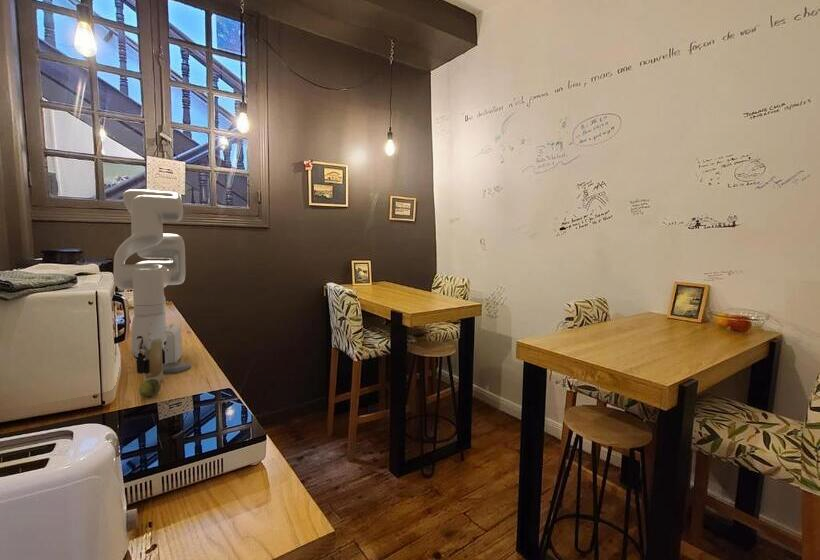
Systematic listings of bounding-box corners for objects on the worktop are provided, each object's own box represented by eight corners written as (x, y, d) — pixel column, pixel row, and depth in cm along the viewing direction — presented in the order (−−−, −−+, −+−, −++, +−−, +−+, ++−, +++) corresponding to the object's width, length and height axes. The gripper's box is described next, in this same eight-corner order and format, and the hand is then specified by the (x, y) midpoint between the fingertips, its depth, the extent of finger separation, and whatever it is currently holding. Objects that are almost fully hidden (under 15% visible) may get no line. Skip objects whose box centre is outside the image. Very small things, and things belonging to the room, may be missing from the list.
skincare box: (143, 377, 121) (142, 337, 119) (160, 374, 123) (159, 335, 122) (145, 383, 116) (144, 342, 114) (163, 381, 118) (162, 340, 117)
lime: (137, 401, 104) (136, 382, 104) (146, 393, 109) (145, 376, 108) (155, 400, 105) (155, 382, 104) (164, 393, 110) (163, 375, 109)
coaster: (167, 364, 133) (167, 361, 133) (195, 364, 133) (195, 362, 133) (152, 373, 124) (151, 371, 124) (182, 374, 124) (182, 371, 124)
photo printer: (176, 365, 132) (174, 328, 131) (161, 365, 131) (159, 328, 129) (183, 355, 142) (182, 321, 140) (169, 356, 141) (168, 321, 139)
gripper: (153, 304, 125) (155, 358, 127) (116, 315, 108) (119, 378, 110) (178, 304, 126) (179, 359, 128) (144, 316, 109) (147, 379, 111)
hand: (151, 367), depth 119 cm, fingers open, 7 cm apart
